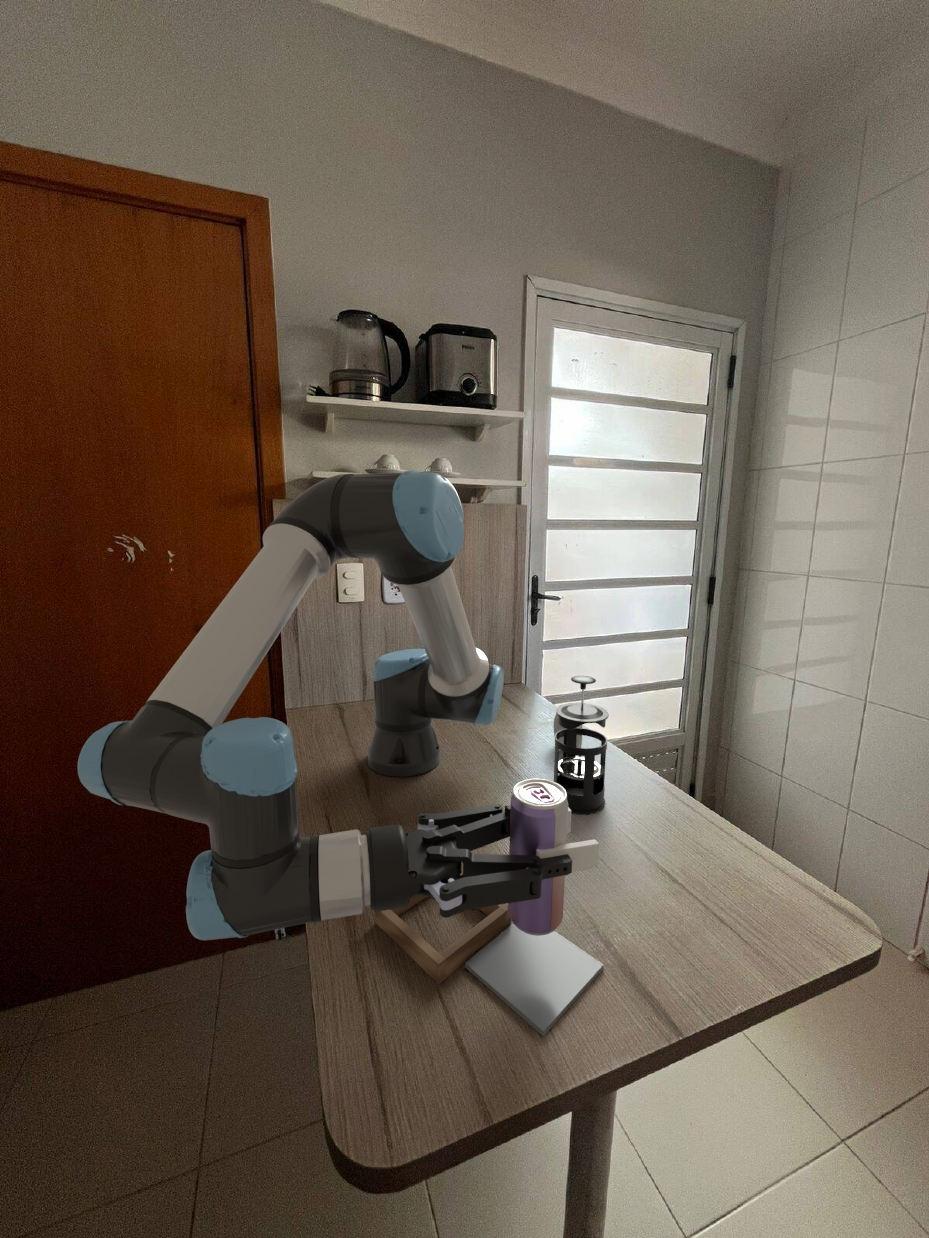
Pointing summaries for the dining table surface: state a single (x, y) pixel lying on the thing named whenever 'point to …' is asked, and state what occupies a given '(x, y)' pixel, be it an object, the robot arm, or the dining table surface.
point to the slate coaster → (535, 974)
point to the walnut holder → (454, 954)
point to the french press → (581, 753)
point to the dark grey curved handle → (558, 728)
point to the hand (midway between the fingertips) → (581, 835)
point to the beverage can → (538, 827)
